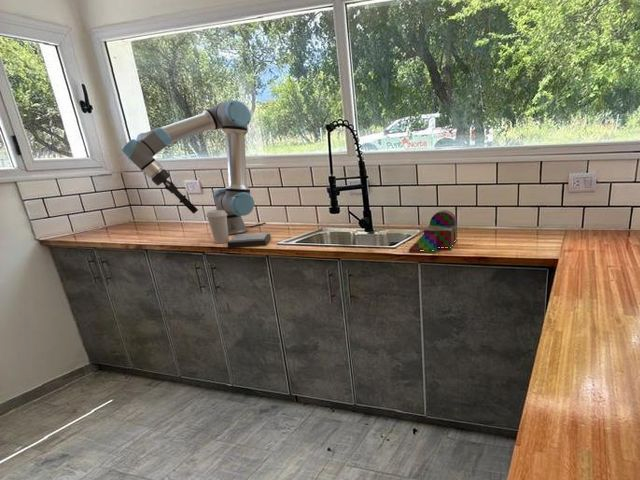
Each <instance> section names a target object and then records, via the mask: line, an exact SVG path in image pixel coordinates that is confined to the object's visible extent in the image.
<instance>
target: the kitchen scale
mask: <svg viewBox="0 0 640 480" xmlns="http://www.w3.org/2000/svg"><path fill="white" fill-rule="evenodd" d="M271 236H272V235H271V233H269V232H258V233H240V234H234V236H233V237H232V238H231V239H229V242H227V244H226V245H227V248H228V249H232V248H233V249H234V248H235V249H236V248H247V247H248V248H249V247H264V246H265V247H266V246H267V245H268V244H269V242H270V241H271V239H272V237H271Z"/></svg>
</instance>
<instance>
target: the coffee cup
mask: <svg viewBox="0 0 640 480" xmlns="http://www.w3.org/2000/svg"><path fill="white" fill-rule="evenodd" d="M205 217H206V218H207V221H208V224H209V228H210V231H211V234H212V238H213V242H214V244H226V243H228V242H229V241H230V238H229V237H230V236H229V235H228V226H227V213H226V212H225V210H217V209H214V210H208V211H206V214H205Z"/></svg>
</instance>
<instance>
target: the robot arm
mask: <svg viewBox="0 0 640 480" xmlns="http://www.w3.org/2000/svg"><path fill="white" fill-rule="evenodd" d="M251 120H252V113H251V111H250V108H249V107H248V106H247V104H245V102H242V101H240V100H233V99H232V100H228V101H222V102H220V103H218V104H215V105H213V106H211V107H209V108H207V109H204V110H203V111H202V113H199V114H197V115H194V116H191V117H188V118H184V119H181V120H178V121H176V122H172V123H170V124H167V125H163V126H161V127H160V126H159V127H156V128H155V129H153V130H150V131H149V130H148V131H145V132H141V133H138V135H136V137H135V139H134V138H132V139H131V140H129V141H128V142H126V143H125V144H124V145H123V146H122V147H121V152H122V153H123V154H124V155H125V156H126V157H127V158H128V159H129V160H130V161H131V162H132V163H133V164H134V165H135V166H136V167H137V168H138V169H140V171H142V172H143V176H147V177H148V178H149V179H150V180H151V182H153V183H154V184H155V185H156V186H157V187H158V186H160V185H161V184H163V185H164V188H165V190H167V191H168V192H170V194H173V195H174V197H176V198H177V199H178V200H179V201H178V202H179V203H180V204H183V205H184V206H185V207H186V208H187V209H188V210H189V211H190V212H191V213H192V214H194V215H195V214H196V213H197V212H198V211H199V209H198V208H197V207H196V206H195V205H194V204H193V203H192V202H191V201H190V200H189V199H188V198H187V196H186V195H185V194H182V192H181V191H179V190H178V187H177V186H176V185H175V183H174V182H173V181H170V180H168V179H169V178H170V177H171V174H170V173H169V172H168V171H167V170H166V169H165V168H164V169H163V166H162V164H160V163H159V161H158V160H157V159H155V158H154V157H155V156H156V155H157V154H158V153H160V152H161V151H162V150H164V149H165V148H167V147H168V146H169V145H170V144H173V143H175V142H179V141H181V140H184V139H187V138H190V137H193V136H196V135H198V134H200V133H204V132H207V131H209V130H211V131H216V130H219V129H221V130H222V131H223V132H224V133H225V143H226V144H225V145H226V161H227V162H226V163H227V182H228V183H227V185H226V186H225V188H221V189H220V188H219V189H215V190H214V191H213V198H214V199H213V200H214V204H215V210H225V212H226V213H227V226H228V236H231V235H237V234H245V233H246V232H248V229H247V228H256V227H258V226H262V225H266V224H267V223H266V222H263V223H259V224H254V225H253V224H252V225H246V224H245V222H244V220H243V218H242V217H245V216H248V215H250V214H251V213H252V211H253V210H254V208H255V200H254V198H253V197H252V195H251V188H250V187H249V186H248V185H247V159H246V134H247V133H249V130H248V125H249V124H250V123H251Z"/></svg>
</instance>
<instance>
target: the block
mask: <svg viewBox="0 0 640 480" xmlns="http://www.w3.org/2000/svg"><path fill="white" fill-rule="evenodd" d="M456 238H457V239H456ZM455 240H456V241H455ZM454 241H455V242H454ZM457 242H458V221H457V216H456V215H455V214H454V213H453V212H452V211H450V210H447V209H442V210H441V209H440V210H439V211H437V212H436V213H434V214H433V215H432V217H431V218H430V221H429V224H428V226H427V227H426V228H425V229H423V234H422V235H421V236H420V237H419V238H418V240H417V241H415V243H413V245H412V246H410V248H409V251H408V252H409V253H411V254H413V253H414V254H415V253H416V254H436V253H437V252H438V251H452V249H453V248H454V246H455V244H456V243H457ZM452 245H453V246H452ZM438 247H440V248H438ZM441 247H444V248H441ZM445 247H448V248H445ZM450 247H451V248H450ZM420 250H424V251H420ZM432 250H434V251H432Z"/></svg>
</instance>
